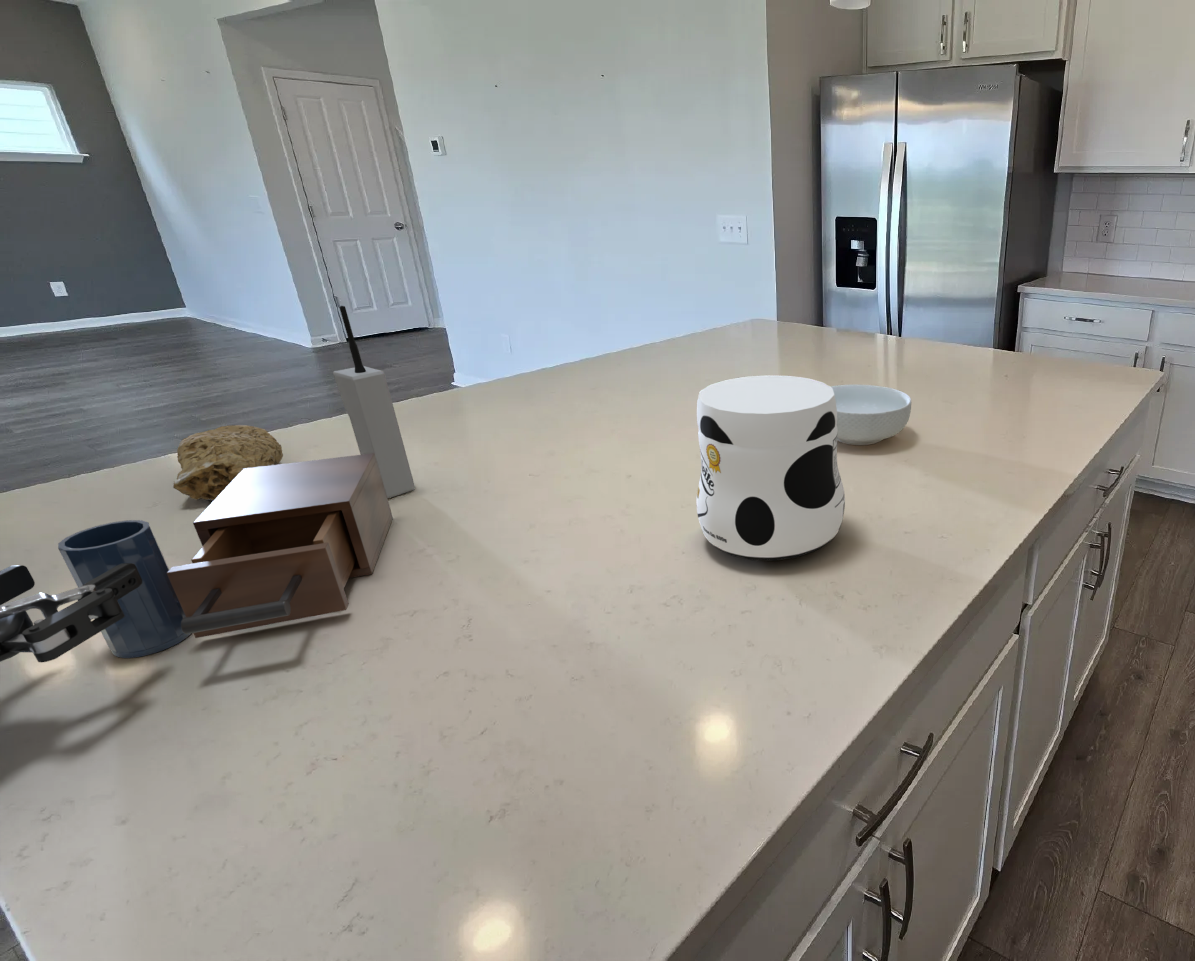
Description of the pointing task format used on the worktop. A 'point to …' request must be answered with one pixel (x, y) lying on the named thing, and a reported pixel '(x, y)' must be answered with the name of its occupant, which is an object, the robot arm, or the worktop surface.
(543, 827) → the worktop surface
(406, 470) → the vintage mobile phone
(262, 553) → the drawer
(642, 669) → the worktop surface
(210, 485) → the sponge
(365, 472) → the cabinet
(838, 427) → the cereal bowl
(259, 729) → the worktop surface
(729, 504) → the milk container
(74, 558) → the utensil crock
